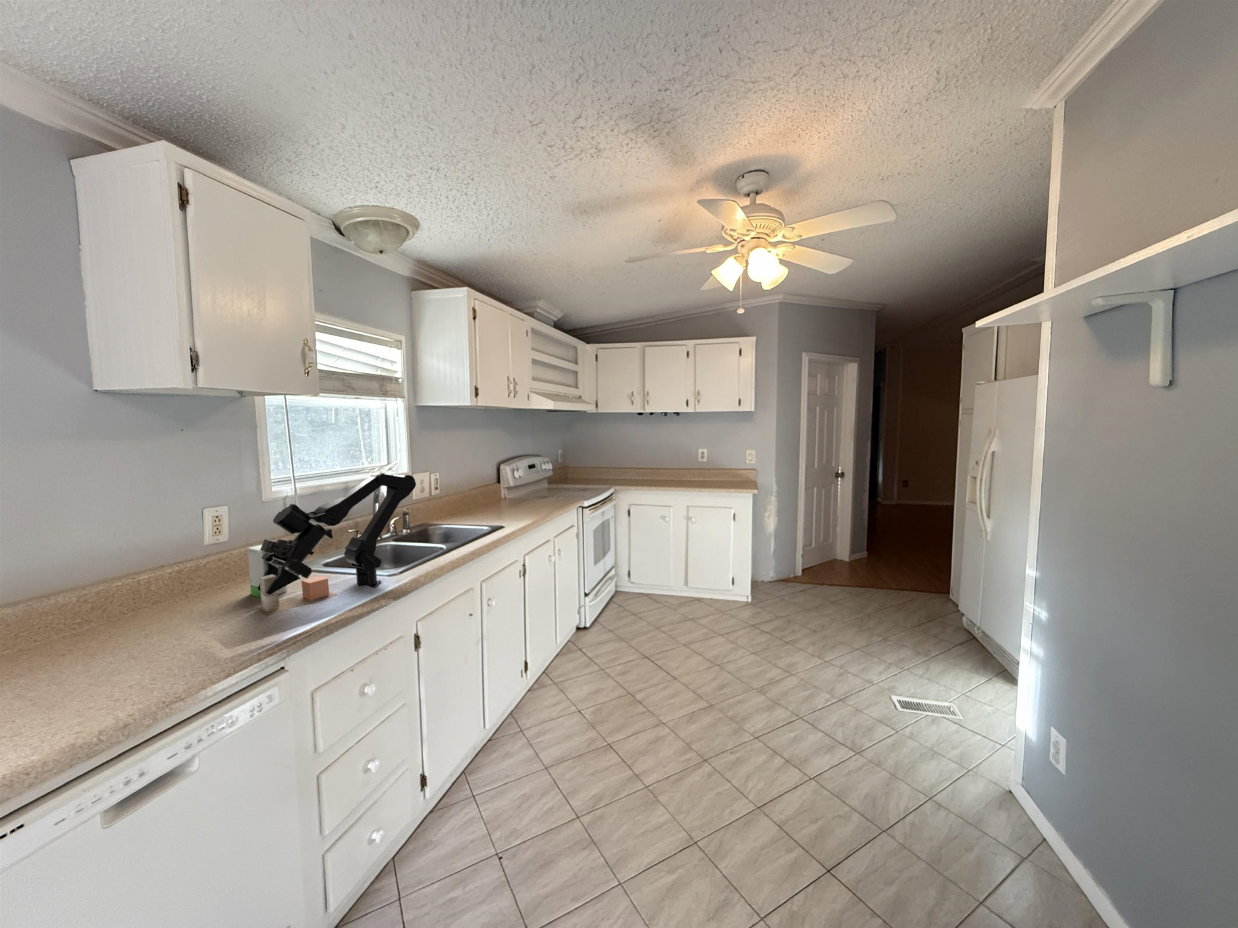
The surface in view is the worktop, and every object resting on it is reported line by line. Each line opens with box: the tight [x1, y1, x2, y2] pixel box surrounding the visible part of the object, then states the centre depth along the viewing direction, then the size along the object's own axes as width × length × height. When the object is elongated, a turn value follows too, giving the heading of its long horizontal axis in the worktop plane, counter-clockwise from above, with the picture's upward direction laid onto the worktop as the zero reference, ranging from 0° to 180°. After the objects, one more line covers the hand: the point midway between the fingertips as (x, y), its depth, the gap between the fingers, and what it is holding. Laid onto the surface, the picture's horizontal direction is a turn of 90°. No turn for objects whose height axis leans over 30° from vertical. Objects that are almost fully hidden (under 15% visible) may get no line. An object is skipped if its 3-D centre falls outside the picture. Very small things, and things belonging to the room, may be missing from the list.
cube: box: [301, 575, 330, 600], centre depth 143 cm, size 5×5×5 cm
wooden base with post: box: [253, 575, 338, 616], centre depth 138 cm, size 18×9×10 cm, turn 145°
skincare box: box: [247, 544, 288, 598], centre depth 146 cm, size 8×7×16 cm
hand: (263, 591), depth 132 cm, fingers open, 6 cm apart
